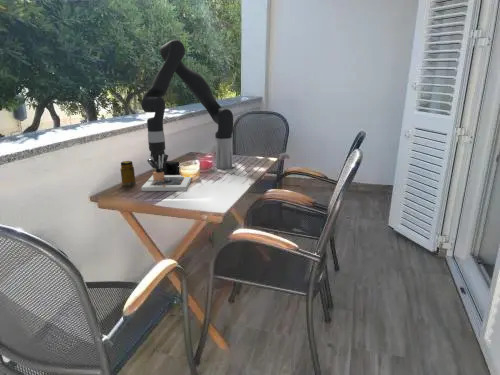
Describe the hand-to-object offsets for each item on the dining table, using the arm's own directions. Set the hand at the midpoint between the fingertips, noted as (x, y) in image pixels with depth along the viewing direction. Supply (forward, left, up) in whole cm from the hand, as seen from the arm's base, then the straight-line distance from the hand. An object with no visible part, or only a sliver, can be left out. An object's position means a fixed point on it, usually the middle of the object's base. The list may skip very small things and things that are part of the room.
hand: (159, 175), depth 171 cm
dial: (-5, +3, -4) cm, 6 cm away
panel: (-5, +3, -4) cm, 7 cm away
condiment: (+13, +3, -5) cm, 14 cm away
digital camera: (-1, -18, -5) cm, 18 cm away
